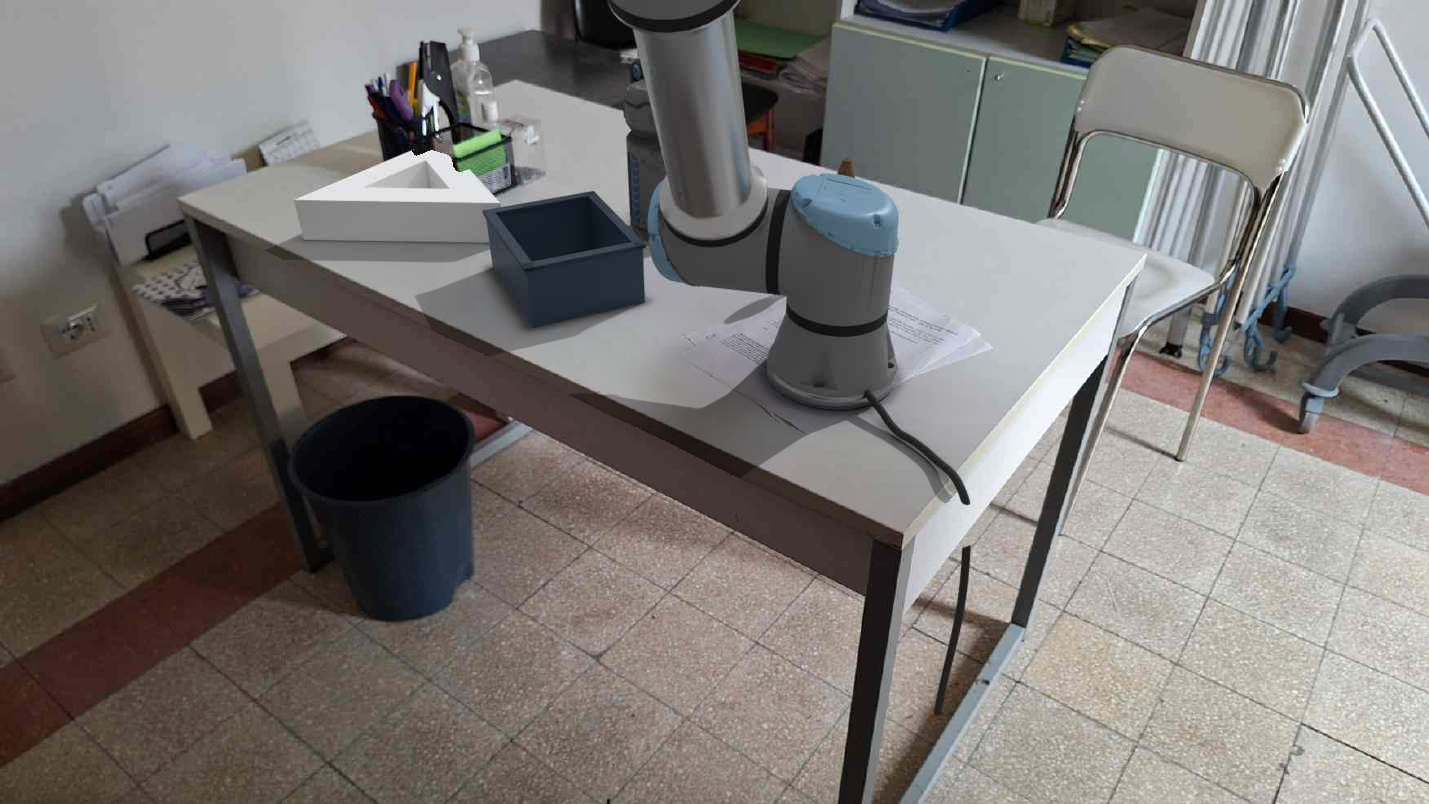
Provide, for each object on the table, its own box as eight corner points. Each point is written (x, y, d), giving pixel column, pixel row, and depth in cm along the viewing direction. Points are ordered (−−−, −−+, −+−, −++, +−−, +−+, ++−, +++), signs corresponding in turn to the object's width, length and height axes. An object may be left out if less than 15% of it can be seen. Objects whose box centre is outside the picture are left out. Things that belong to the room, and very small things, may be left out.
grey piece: (668, 206, 158) (664, 45, 144) (712, 236, 149) (712, 68, 134) (611, 219, 153) (602, 55, 139) (653, 252, 144) (647, 80, 130)
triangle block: (446, 174, 168) (440, 138, 164) (567, 207, 157) (564, 169, 153) (303, 239, 147) (293, 199, 143) (433, 283, 136) (425, 241, 132)
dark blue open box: (648, 302, 132) (646, 244, 127) (531, 329, 126) (524, 268, 121) (597, 245, 146) (593, 190, 141) (489, 266, 140) (482, 210, 135)
